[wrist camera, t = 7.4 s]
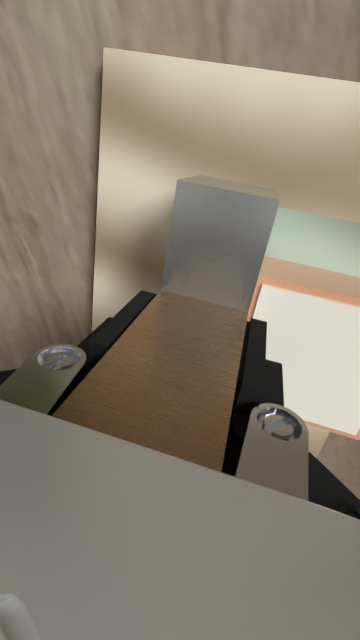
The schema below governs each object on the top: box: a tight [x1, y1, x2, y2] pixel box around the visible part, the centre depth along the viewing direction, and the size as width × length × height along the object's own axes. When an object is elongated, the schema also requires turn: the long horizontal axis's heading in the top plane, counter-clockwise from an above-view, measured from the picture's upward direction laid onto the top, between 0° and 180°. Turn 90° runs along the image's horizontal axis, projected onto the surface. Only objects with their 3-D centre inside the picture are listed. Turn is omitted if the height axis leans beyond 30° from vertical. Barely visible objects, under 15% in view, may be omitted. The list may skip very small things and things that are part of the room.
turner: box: [52, 175, 280, 472], centre depth 10 cm, size 10×3×10 cm, turn 170°
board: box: [92, 47, 360, 458], centre depth 17 cm, size 18×14×1 cm
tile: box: [247, 256, 360, 440], centre depth 14 cm, size 6×6×3 cm
